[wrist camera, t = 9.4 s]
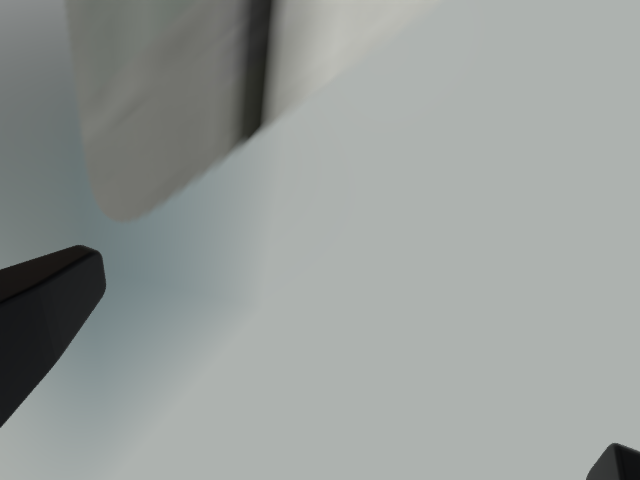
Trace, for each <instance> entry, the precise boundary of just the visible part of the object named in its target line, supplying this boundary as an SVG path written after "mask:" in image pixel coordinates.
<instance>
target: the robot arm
mask: <svg viewBox="0 0 640 480" xmlns="http://www.w3.org/2000/svg"><path fill="white" fill-rule="evenodd" d="M105 289H106V279H105V273H104V265H103V258H102V255H101V254H100V252H98V251H97V250H94V249H92V248H89V247H86V246H83V245H76V246H72V247H69V248H66V249H63V250H60V251H57V252H54V253H51V254H47V255H44V256H41V257H38V258H35V259H32V260H29V261H26V262H23V263H19V264H16V265H14V266H10V267H7V268H4V269H1V270H0V428H1V427H2V426H3V424H4V423H5V422H6V421H7V420H8V419H9V417H10V416H11V415H12V414H13V413H14V412H15V410H16V409H17V408H18V407H19V406H20V404H21V403H22V402H23V401H24V400H25V399H26V398H27V396H28V395H29V394H30V393H31V392H32V391H33V389H34V388H35V387H36V386H37V385H38V384H39V382H40V381H41V380H42V379H43V378H44V377H45V376H46V374H47V373H48V372H49V371H50V370H51V368H52V367H53V366H54V365H55V363H56V362H57V361H58V360H59V358H60V357H61V356H62V354H63V353H64V351H65V350H66V349H67V347H68V346H69V344H70V343H71V341H72V340H73V339H74V337H75V336H76V334H77V333H78V331H79V330H80V328H81V327H82V326H83V324H84V323H85V321H86V320H87V318H88V317H89V316H90V314H91V312H92V311H93V310H94V308H95V307H96V305H97V304H98V303H99V301H100V299H101V298H102V297H103V295H104V292H105ZM586 480H640V452H639V451H637V450H634V449H632V448H629V447H626V446H624V445H621V444H618V443H612V444H611V445H609V446H608V447H607V449H606V450H605V451H604V452H603V454H602V455H601V456H600V458H599V459H598V461H597V462H596V463H595V464H594V466H593V467H592V468H591V470H590V471H589V473H588V475H587V478H586Z"/></svg>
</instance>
